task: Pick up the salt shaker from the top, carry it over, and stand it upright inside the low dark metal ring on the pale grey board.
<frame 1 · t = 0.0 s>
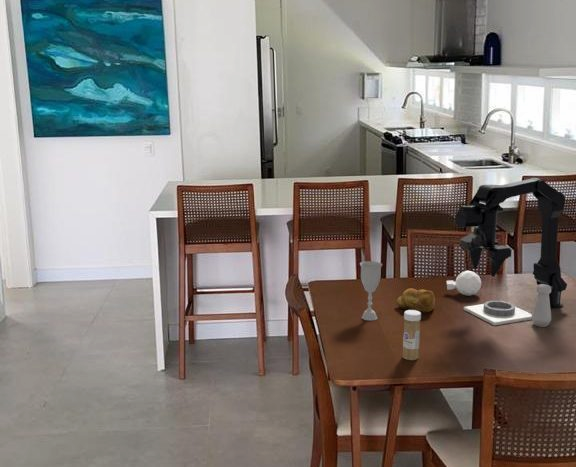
hand: (483, 272, 232), 15 cm above the table, fingers open, 9 cm apart
ring holder: (498, 314, 237), on the table
chalice: (369, 318, 233), on the table
sprinkles bottle: (410, 358, 202), on the table
perfume bottle: (463, 294, 257), on the table
salt shaker: (540, 325, 227), on the table
bread roll: (416, 309, 242), on the table
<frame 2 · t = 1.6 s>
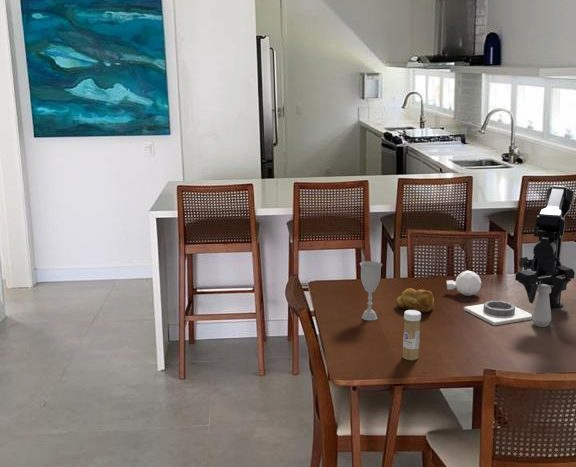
hand: (542, 301, 225), 8 cm above the table, fingers open, 9 cm apart
nothing on the table moved.
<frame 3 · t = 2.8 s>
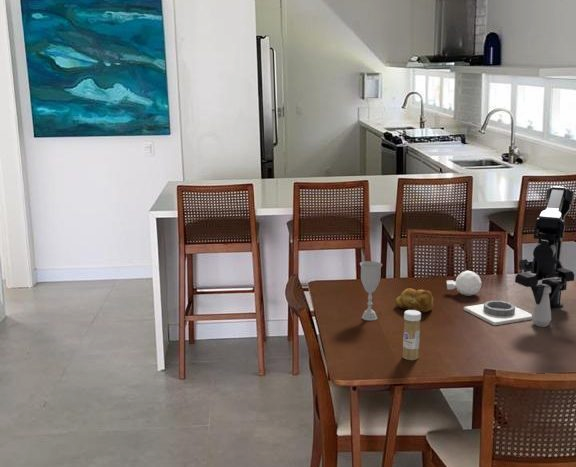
hand: (542, 303, 225), 7 cm above the table, fingers closed on salt shaker, 4 cm apart
salt shaker: (540, 325, 227), on the table, touching gripper
everything else where it was.
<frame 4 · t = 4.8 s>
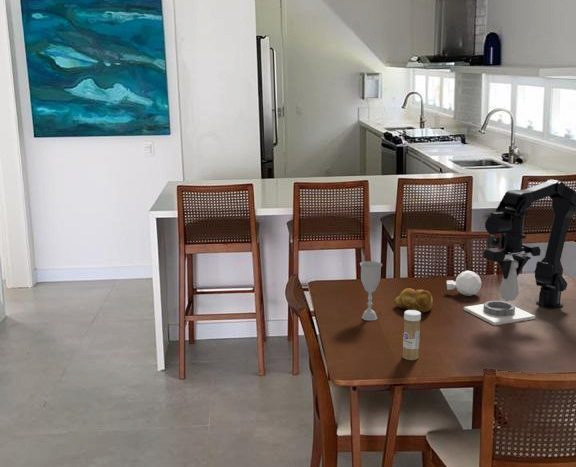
hand: (510, 278, 232), 13 cm above the table, fingers closed on salt shaker, 4 cm apart
salt shaker: (508, 299, 233), point 6 cm above the table, touching gripper
everything else where it was.
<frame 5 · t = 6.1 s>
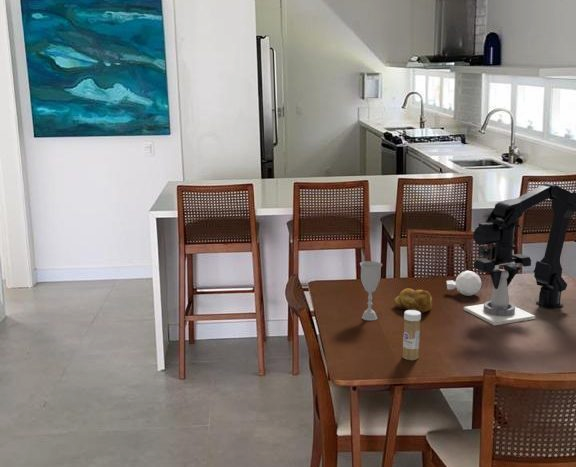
hand: (500, 288, 235), 9 cm above the table, fingers closed on salt shaker, 4 cm apart
salt shaker: (499, 309, 236), point 2 cm above the table, touching gripper
everything else where it was.
when the fingers open (9 cm above the table, at t = 7.0 s): salt shaker stays where it is, resting on ring holder.
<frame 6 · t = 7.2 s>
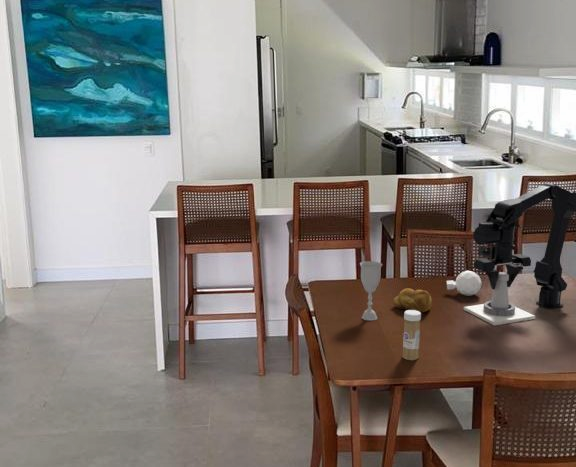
hand: (500, 288, 235), 9 cm above the table, fingers open, 6 cm apart
salt shaker: (499, 311, 236), point 1 cm above the table, touching ring holder
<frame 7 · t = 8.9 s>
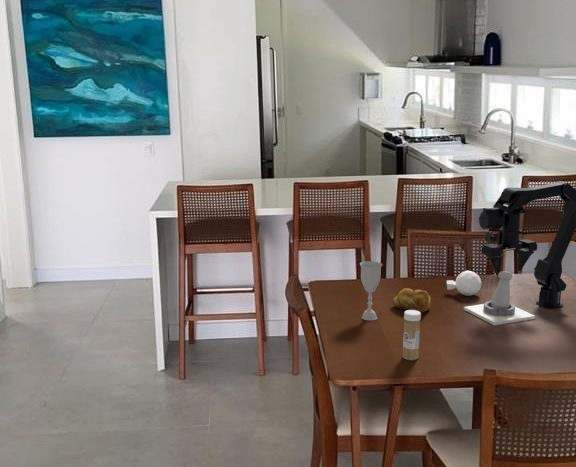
hand: (508, 272, 238), 13 cm above the table, fingers open, 9 cm apart
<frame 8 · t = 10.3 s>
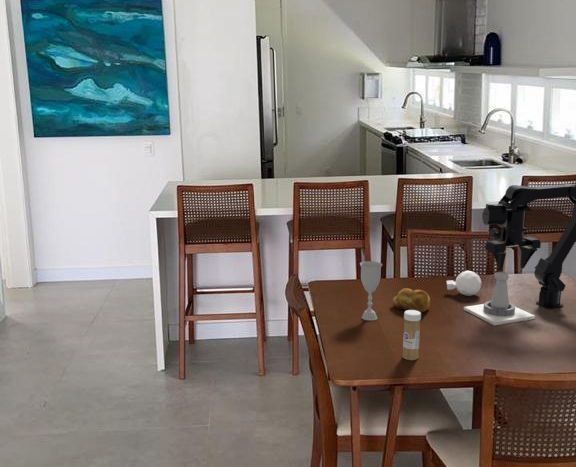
hand: (511, 269, 241), 13 cm above the table, fingers open, 9 cm apart
at the end: salt shaker 0.1 cm off-centre on the ring holder, point 0.8 cm above the ring holder's base; salt shaker tilted 1°; the gripper is holding nothing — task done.
